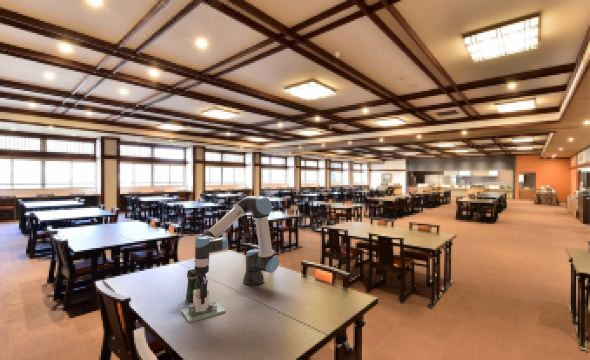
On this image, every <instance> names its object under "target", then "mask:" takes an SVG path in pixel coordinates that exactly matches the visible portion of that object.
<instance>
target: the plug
mask: <svg viewBox="0 0 590 360" xmlns="http://www.w3.org/2000/svg"><path fill="white" fill-rule="evenodd" d="M199 297H200V289H196V290H194V292H193V301H192V305H193V308H194V310H195V311H199V304H200V299H199ZM209 297H210V289H209V288H207V297H206V298H205V309H207V308H208V305H209V302H210V301H209V299H210V298H209Z"/></svg>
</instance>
